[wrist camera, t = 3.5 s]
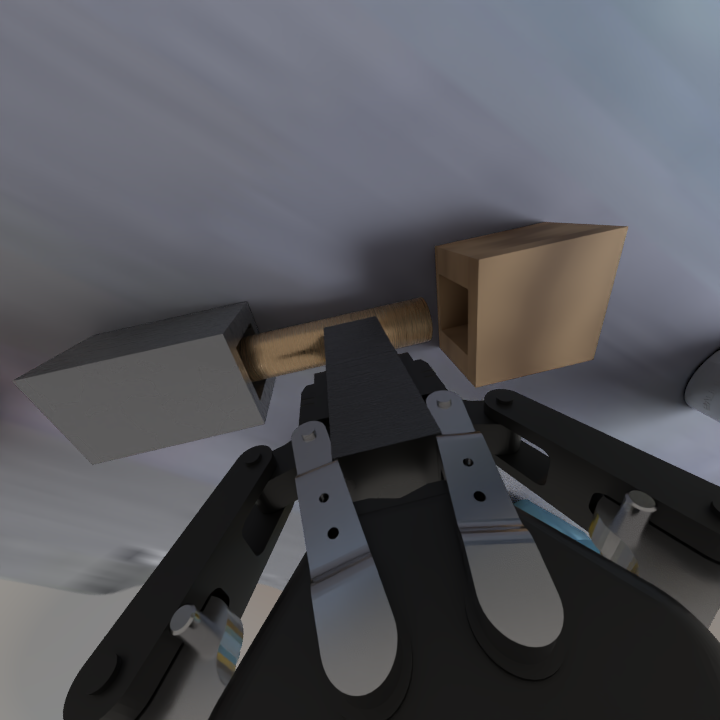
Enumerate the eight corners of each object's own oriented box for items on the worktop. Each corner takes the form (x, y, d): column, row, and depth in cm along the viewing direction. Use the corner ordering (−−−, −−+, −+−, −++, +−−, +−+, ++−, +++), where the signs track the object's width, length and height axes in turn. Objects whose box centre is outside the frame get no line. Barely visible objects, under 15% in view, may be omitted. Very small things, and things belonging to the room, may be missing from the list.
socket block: (544, 222, 20) (628, 226, 14) (531, 326, 23) (593, 359, 18) (434, 246, 19) (478, 259, 14) (439, 347, 23) (475, 387, 18)
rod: (415, 290, 19) (555, 404, 8) (419, 332, 21) (540, 477, 10) (111, 358, 19) (-203, 588, 7) (138, 396, 20) (-87, 634, 9)
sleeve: (247, 301, 19) (222, 333, 14) (276, 375, 22) (264, 424, 17) (92, 335, 19) (11, 381, 14) (143, 406, 22) (92, 464, 17)
